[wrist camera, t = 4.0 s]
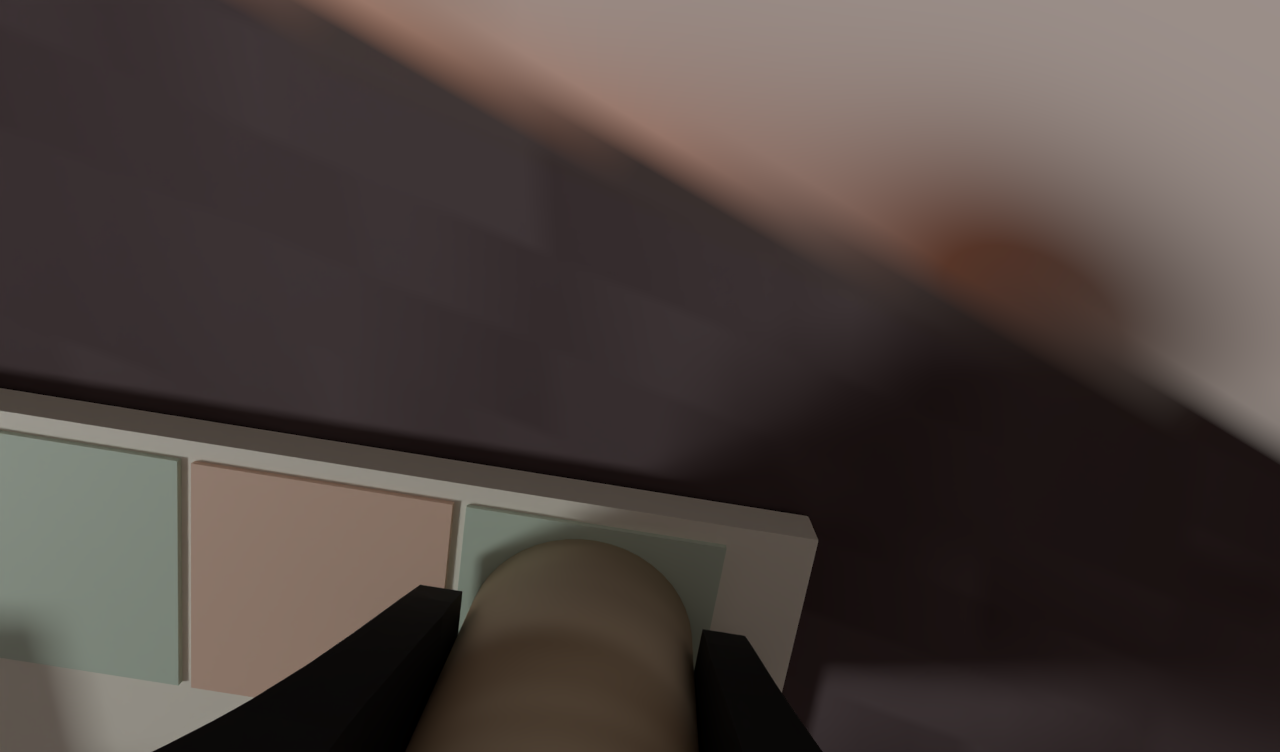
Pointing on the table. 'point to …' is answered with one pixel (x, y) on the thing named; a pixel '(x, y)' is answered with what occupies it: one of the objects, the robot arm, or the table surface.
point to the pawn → (567, 660)
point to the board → (294, 560)
